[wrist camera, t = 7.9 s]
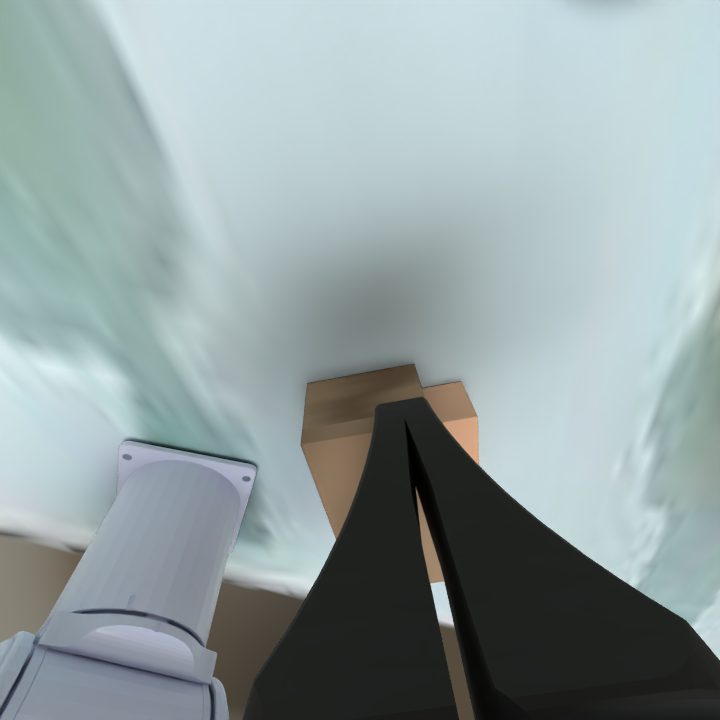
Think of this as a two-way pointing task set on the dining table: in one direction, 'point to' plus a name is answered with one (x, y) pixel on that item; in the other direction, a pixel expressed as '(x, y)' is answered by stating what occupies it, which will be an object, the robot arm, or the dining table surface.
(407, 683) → the robot arm
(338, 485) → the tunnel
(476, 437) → the peach rectangular prism
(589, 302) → the dining table surface
